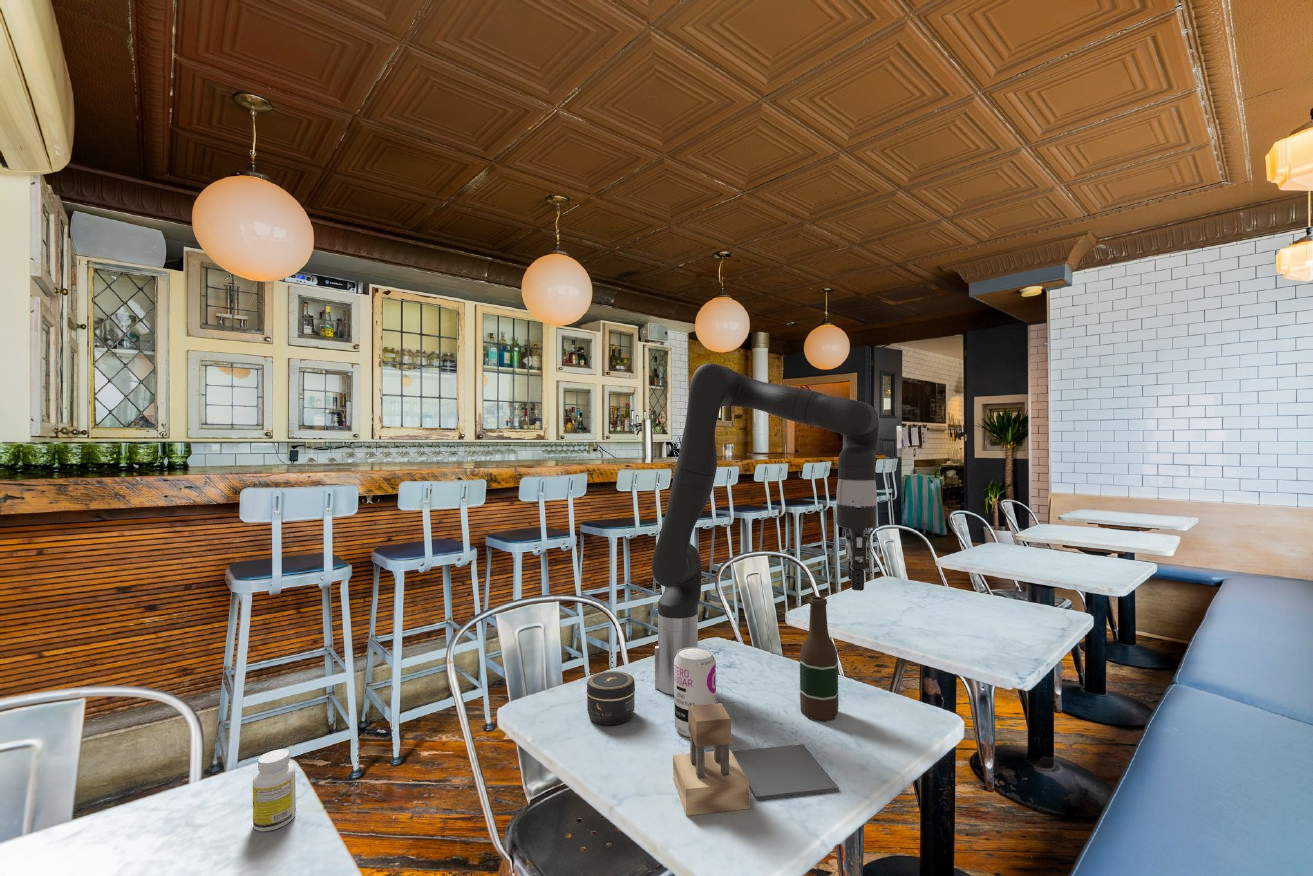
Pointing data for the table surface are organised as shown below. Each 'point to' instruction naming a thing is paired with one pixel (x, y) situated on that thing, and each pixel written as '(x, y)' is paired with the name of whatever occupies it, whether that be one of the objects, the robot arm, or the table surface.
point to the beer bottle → (818, 667)
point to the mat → (783, 772)
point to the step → (710, 785)
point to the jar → (610, 698)
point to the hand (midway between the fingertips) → (855, 584)
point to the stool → (709, 735)
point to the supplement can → (692, 683)
